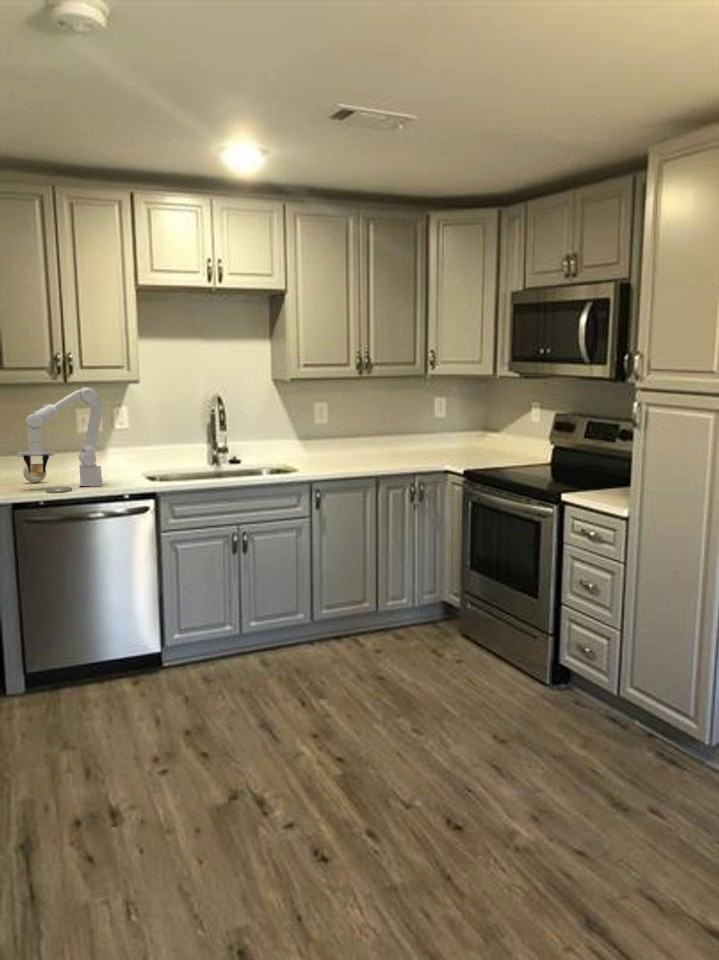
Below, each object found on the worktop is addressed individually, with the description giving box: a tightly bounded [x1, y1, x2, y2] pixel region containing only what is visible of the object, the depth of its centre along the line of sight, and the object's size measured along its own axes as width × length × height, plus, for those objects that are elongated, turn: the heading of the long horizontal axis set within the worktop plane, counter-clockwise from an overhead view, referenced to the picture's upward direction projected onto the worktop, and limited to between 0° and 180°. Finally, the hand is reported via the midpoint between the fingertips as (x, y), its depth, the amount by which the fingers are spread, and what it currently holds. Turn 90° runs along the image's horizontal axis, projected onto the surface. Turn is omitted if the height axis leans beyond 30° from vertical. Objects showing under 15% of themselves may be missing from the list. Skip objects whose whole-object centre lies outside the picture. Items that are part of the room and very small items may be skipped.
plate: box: [44, 486, 73, 494], centre depth 346 cm, size 11×11×1 cm
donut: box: [22, 461, 47, 484], centre depth 366 cm, size 10×4×10 cm, turn 108°
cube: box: [30, 463, 44, 477], centre depth 349 cm, size 5×5×5 cm
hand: (37, 472), depth 349 cm, fingers closed on cube, 5 cm apart
